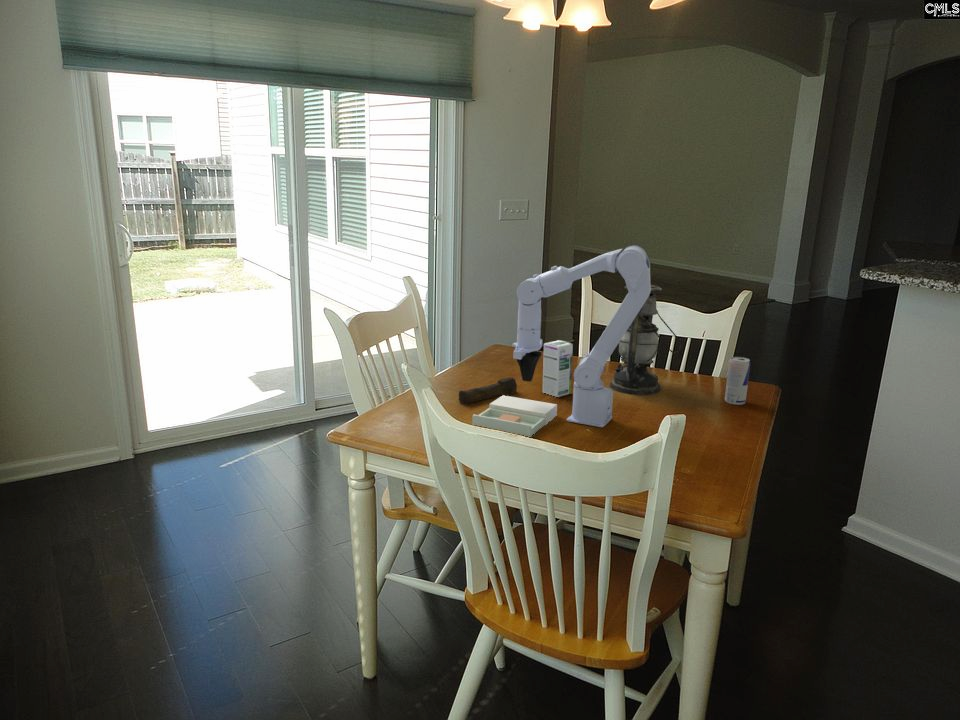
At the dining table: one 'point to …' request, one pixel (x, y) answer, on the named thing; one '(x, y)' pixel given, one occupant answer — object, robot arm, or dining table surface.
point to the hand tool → (488, 391)
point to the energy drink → (737, 380)
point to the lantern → (640, 352)
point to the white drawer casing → (525, 407)
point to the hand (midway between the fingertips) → (527, 380)
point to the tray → (509, 422)
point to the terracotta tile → (510, 418)
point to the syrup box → (557, 368)
